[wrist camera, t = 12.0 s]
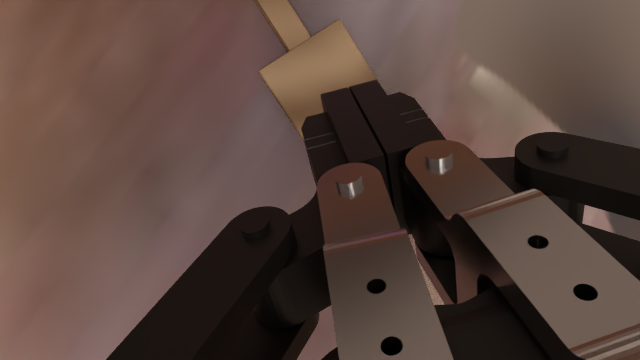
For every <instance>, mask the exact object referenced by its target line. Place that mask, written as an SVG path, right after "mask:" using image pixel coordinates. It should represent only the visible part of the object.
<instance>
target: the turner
mask: <svg viewBox="0 0 640 360" xmlns="http://www.w3.org/2000/svg"><path fill="white" fill-rule="evenodd" d="M254 1H255V3H256V4H257V6H258V7H259V9H260V10H261V12H262V14H263V15H264V17H265V18H266V20H267V21H268V23H269V24H270V26H271V27H272V29H273V31H274V32H275V34H276V35H277V37H278V38H279V40H280V41H281V43H282V45H283V46H284V48H285V49H286V51H287V52H288V53H286V54H285V55H283V56H282V57H280V58H278V59H277V60H275V61H274V62H272V63H271V64H269V65H268V66H266V67H265V68H263V69H262V70H260V71H259V74H260V75H261V77H262V78H263V80H264V82H265V83H266V85H267V86H268V88H269V89H270V91H271V92H272V94H273V95H274V97H275V98H276V100H277V101H278V103H279V104H280V106H281V107H282V109H283V110H284V112H285V113H286V115H287V116H288V118H289V119H290V121H291V122H292V124H293V125H294V127H295V129H296V130H297V132H298V133H299V135H300V136H301V138H302V139H303V141H304V138H303V134H302V130H301V128H302V125H303V123H304V121H305V119H306V117H308V116H312V115H316V114H320V113H323V112H324V111H323V106H322V101H321V94H323V93H327V92H331V91H334V90H338V89H342V88H346V87H348V89H349V86H353V85H357V84H361V83H365V82H368V81H372V80H377V79H376V77H375V76H374V74H373V72H372V71H371V69H370V67H369V66H368V64H367V63H366V61H365V59H364V58H363V56H362V55H361V53H360V51H359V50H358V48H357V46H356V45H355V43H354V42H353V40H352V38H351V37H350V35H349V34H348V32H347V30H346V29H345V27H344V25H343V24H342V22H341V21H340V19H339V20H337V21H335V22H334V23H332V24H331V25H329V26H328V27H326V28H325V29H323V30H322V31H320V32H319V33H317V34H315V35H314V36H312V37H311V38H310V35H309V34H308V32H307V30H306V29H305V27H304V26H303V24H302V22H301V21H300V19H299V18H298V16H297V15H296V13H295V11H294V10H293V8H292V7H291V5H290V3H289V2H288V0H254ZM377 81H378V80H377Z"/></svg>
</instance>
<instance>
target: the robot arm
mask: <svg viewBox="0 0 640 360" xmlns="http://www.w3.org/2000/svg"><path fill="white" fill-rule="evenodd" d="M321 101H322V106H323V111H324V112H323V113H320V114H316V115H312V116H308V117H306V119H305V121H304V123H303V125H302V128H301V130H302V134H303V138H304V142H305V146H306V149H307V153H308V157H309V161H310V165H311V169H312V173H313V177H314V180H315V183H316V187H317V191H316V193H315V195H314V197H313V198H312V199H311V201H310V202H309V203H307V204H306V205H305V206H304V207H302V208H301V209H299V210H297V211H295V212H294V213H292V214H290V215H288V214H287V213H286V212H285V211H284V210H282V209H280V208H276V207H270V206H267V207H258V208H253V209H250V210H247V211H245V212H243V213H241V214H240V215H238V216H236V217H235V218H234V219H232V220H231V221H230V222H229V223H228V225H227V226H226V227H225V228H224V229H223V230H222V231H221V232H220V233H219V235H218V236H217V237H216V238H215V239H214V240H213V241H212V242H211V243H210V245H209V246H208V247H207V248H206V249H205V250H204V251H203V252H202V253H201V255H200V256H199V257H198V258H197V259H196V260H195V261H194V262H193V263H192V265H191V266H190V267H189V268H188V269H187V270H186V271H185V272H184V273H183V275H182V276H181V277H180V278H179V279H178V280H177V281H176V282H175V283H174V285H173V286H172V287H171V288H170V289H169V290H168V291H167V292H166V293H165V295H164V296H163V297H162V298H161V299H160V300H159V301H158V302H157V303H156V305H155V306H154V307H153V308H152V309H151V310H150V311H149V312H148V313H147V315H146V316H145V317H144V318H143V319H142V320H141V321H140V322H139V323H138V325H137V326H136V327H135V328H134V329H133V330H132V331H131V332H130V333H129V335H128V336H127V337H126V338H125V339H124V340H123V341H122V342H121V343H120V345H119V346H118V347H117V348H116V349H115V350H114V351H113V352H112V353H111V355H110V356H109V357H108V358H107V359H106V360H297V358H298V356H299V354H300V353H301V351H302V349H303V348H304V346H305V344H306V343H307V341H308V339H309V338H310V336H311V334H312V333H313V331H314V329H315V328H316V326H317V324H318V320H319V312H320V311H322V310H323V309H325V308H327V307H328V306H330V305H331V306H332V313H333V320H334V327H335V333H336V340H337V347H336V348H335V349H333V350H332V351H331V352H329V353H328V354H327V355H326V356H325V357H324V358H323V359H321V360H640V242H639V241H637V240H633V239H630V238H627V237H624V236H620V235H617V234H614V233H611V232H608V231H604V230H601V229H598V228H595V227H591V226H588V225H585V224H582V221H583V213H584V206H585V205H588V206H591V207H595V208H598V209H602V210H605V211H609V212H613V213H616V214H619V215H623V216H626V217H630V218H634V219H637V220H640V149H638V148H633V147H629V146H624V145H619V144H614V143H609V142H604V141H599V140H595V139H590V138H585V137H580V136H576V135H571V134H566V133H559V132H544V133H537V134H533V135H530V136H528V137H525V138H524V139H522V140H521V141H520V142H519V143H518V144H517V145H516V147H515V157H504V158H478V157H477V156H476V155H475V154H474V153H473V152H472V151H471V150H470V149H469V148H468V147H467V146H465V145H463V144H461V143H459V142H455V141H450V140H446V139H445V138H444V136H443V135H442V134H441V132H440V131H439V130H438V129H437V127H436V126H435V125H434V123H433V122H432V121H431V119H430V118H428V116H427V114H426V113H425V112H424V110H422V108H421V107H420V105H419V104H418V103H417V101H416V100H415V99H414V98H412V97H410V96H408V95H405V94H403V93H401V92H399V93H395V94H391V95H387V94H386V93H385V91H384V90H383V88H382V87H381V85H380V84H379V82H378V81H377V80H372V81H368V82H365V83H361V84H357V85H353V86H349V89H348V87H346V88H342V89H338V90H334V91H331V92H327V93H323V94H321ZM409 234H412V236H413V238H414V240H415V246H416V254H417V258H418V260H417V258H416V255H415V252H414V249H413V247H412V244H411V241H410V238H409V236H408V235H409ZM418 261H419V262H420V264H421V266H422V267H423V269H424V271H425V272H426V274H427V276H428V277H429V279H430V281H431V282H432V284H433V285H434V287H435V289H436V290H437V292H438V294H439V295H440V297H441V299H442V300H443V302H444V304H445V305H434V304H433V302H432V299H431V296H430V293H429V291H428V288H427V285H426V282H425V280H424V277H423V274H422V271H421V269H420V266H419V263H418Z"/></svg>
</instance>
